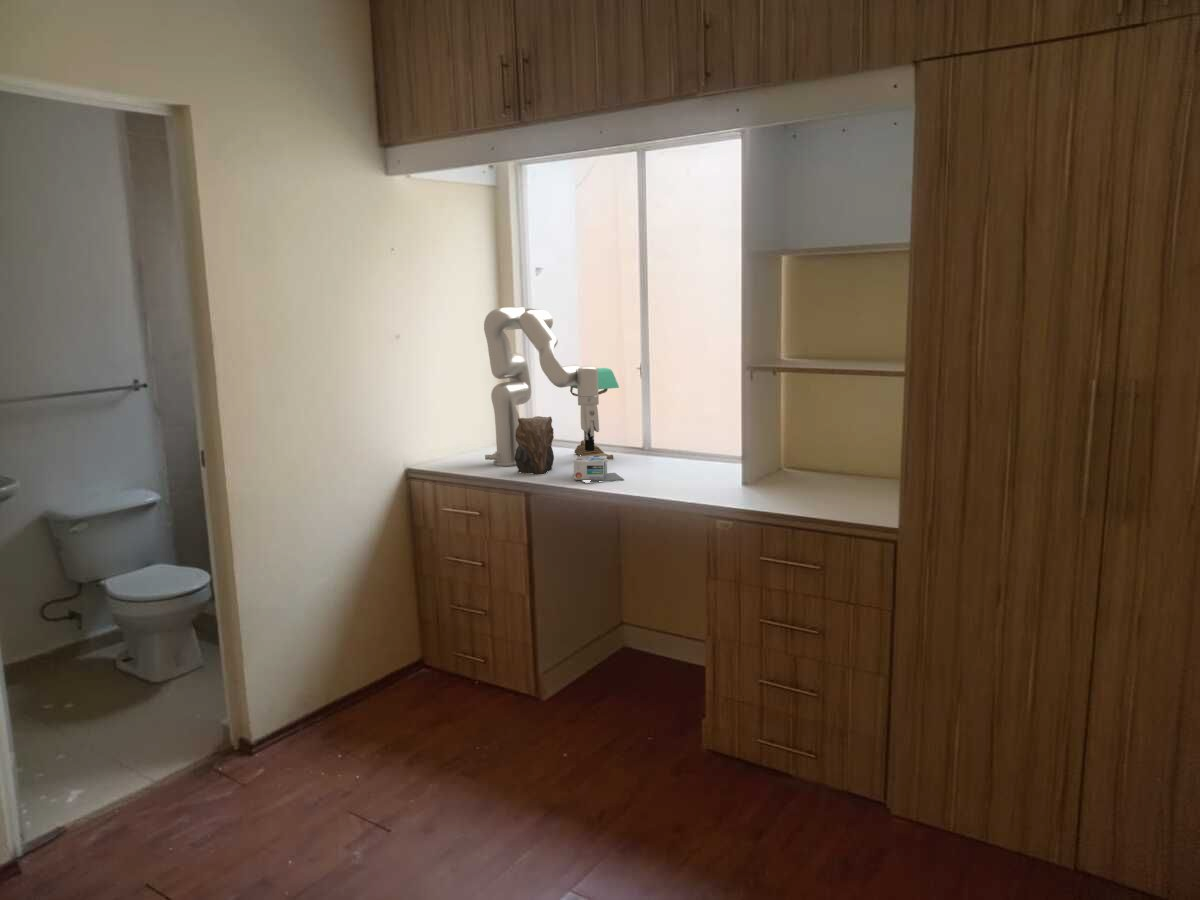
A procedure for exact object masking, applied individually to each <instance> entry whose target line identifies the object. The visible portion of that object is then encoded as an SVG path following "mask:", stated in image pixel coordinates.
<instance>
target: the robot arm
mask: <svg viewBox="0 0 1200 900" xmlns="http://www.w3.org/2000/svg"><path fill="white" fill-rule="evenodd" d="M553 324H554V320H553V317H552V315H551V313H550V312H548V311H547V310H545V309H539V308H531V307H524V306H511V307H510V306H503V307H499V308H494V309H493V310H491V311H489V312H488V314H487V315H486V316H485V319H484V322H483V331H484V335H485V339H486V344H487V350H488V357H489V364H490V370H491V374H492V375H493V377H494V378H496V379H499V380H504V379H508V381H504V382H500V383H498V384H496V385H495V386H494V387H493V388H492V390H491V394H490V395H491V396H490V399H491V402H492V406H493V407H492V408H493V413H494V424H495V441H496V444H495V445H496V451H495V452H494V453H493V454H485V455H484V459H485V460H487V461H492V460H493V465H494V464H495V465H494V466H499V467H513V466H517V464H516V461H515V460H514V457H515V454H516V449H517V448H518V446H519V444H518V442H517V441H516V440H515V439H516V437H515V434H516V429H517V427H518V425H519V422H518V418H521V417H520V413H519V411H518V409H517V406H519V405H524V404H526V403H528V402H529V400H530V399H531V398H532V397H531V396H532V385H531V377H530V372H529V371H530V370H529V366H528V362H527V360H526V357H524V356H523V354H521V353H518V352H512V348H511V343H510V339H509V337H508V336H507V333H506V331H508V330H509V331H513V330H522V332H523V333H524V335H525V336H526V337H527V339H528V340H529V341H530V343H531V344H532V345H533V347H534V348H535V350H536V351H537V352H538V359H539V364H540V368H541V371H542V372H543V373H544V375H545V376H546V377H547V379H548V380H549V382H551V384H553V386H555V387H557V388H562V389H563V388H567V387H570V386H574V385H577V387H578V389H577V394H578V396H577V405H578V406H580V410H579V411H580V428H581V430H582V431H583V436H584V435H585V439H586V440H585V450H586V451H594V445H595V432H596V433H599V432H600V420H599V410H598V405H599V403H600V401H599V399H600V398H599V395H600V394H599V395H598V392H599V389H598V370H597V366H592V365H589V366H587V365H585V366H584V365H577V364H569V365H563V366H562V364H561V363H560V362H559V361H558V360H557V357H556V356H555V352H554V349H555V348H556V346H557V345H558V344H559V343H558V338H557V336H556V335H555V334H554V333H553V330H551V329H552V327H553Z"/></svg>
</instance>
